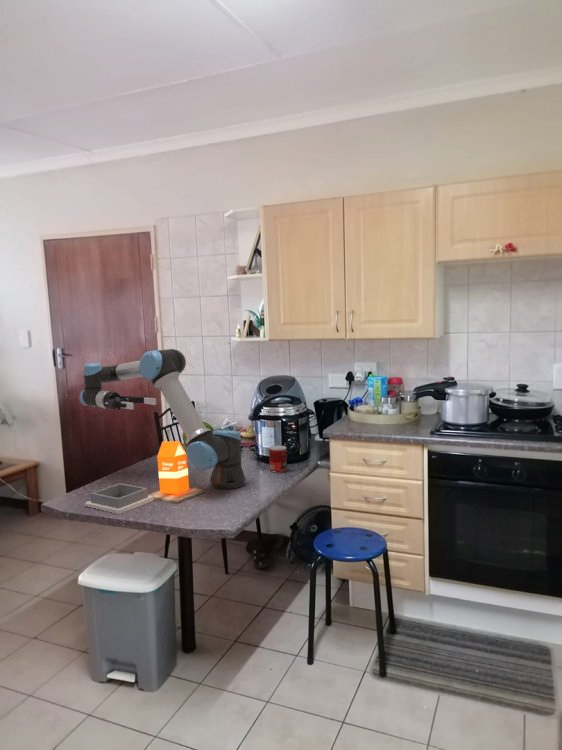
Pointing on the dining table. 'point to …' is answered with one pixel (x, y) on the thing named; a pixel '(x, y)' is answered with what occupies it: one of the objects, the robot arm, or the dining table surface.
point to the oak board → (176, 495)
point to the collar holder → (126, 502)
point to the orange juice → (172, 468)
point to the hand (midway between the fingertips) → (144, 403)
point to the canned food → (278, 458)
